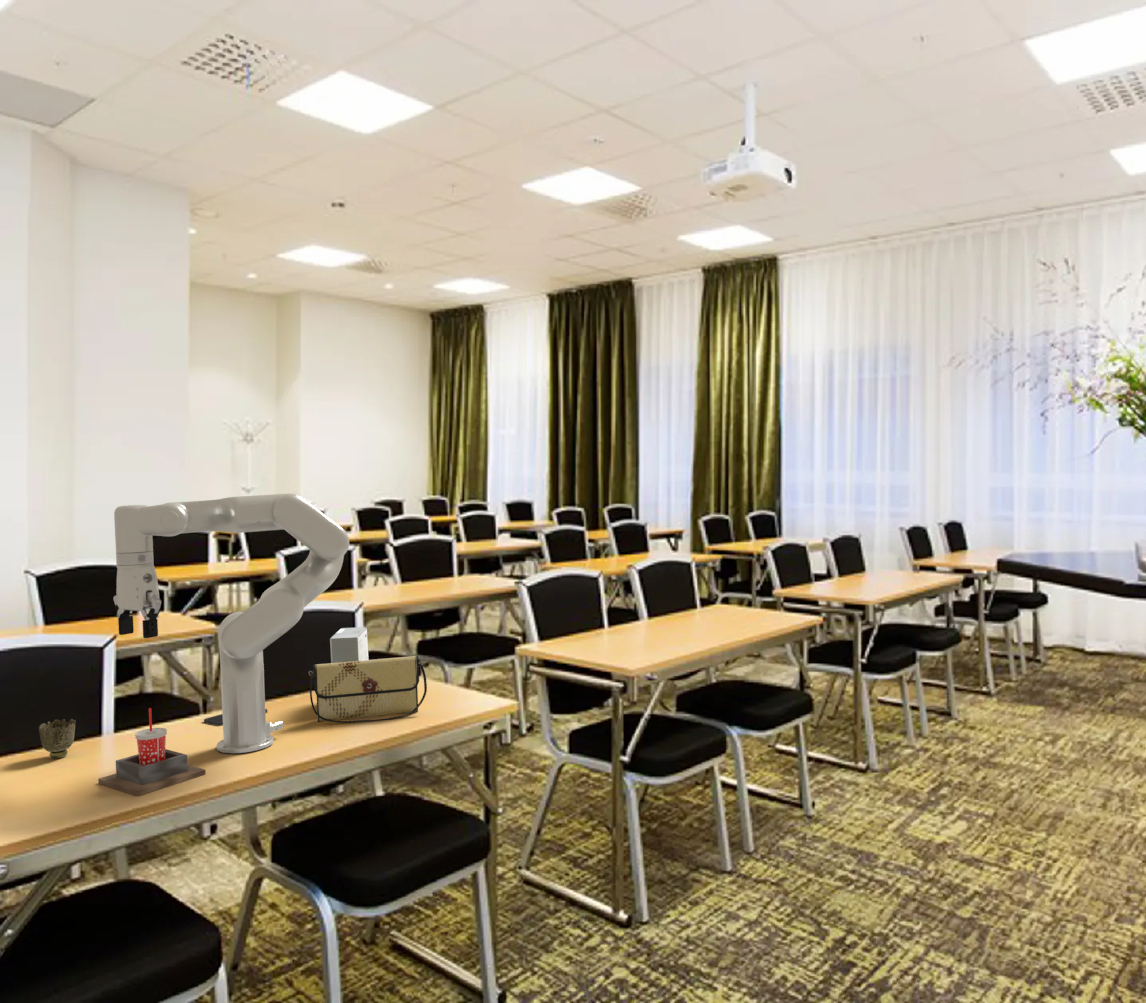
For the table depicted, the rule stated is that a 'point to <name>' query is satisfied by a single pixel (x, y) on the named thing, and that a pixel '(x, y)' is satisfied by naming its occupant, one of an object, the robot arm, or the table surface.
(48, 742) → the cup
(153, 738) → the beverage cup
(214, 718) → the phone
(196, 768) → the socket board
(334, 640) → the hard drive box
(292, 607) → the robot arm
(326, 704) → the clutch purse
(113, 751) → the table surface
